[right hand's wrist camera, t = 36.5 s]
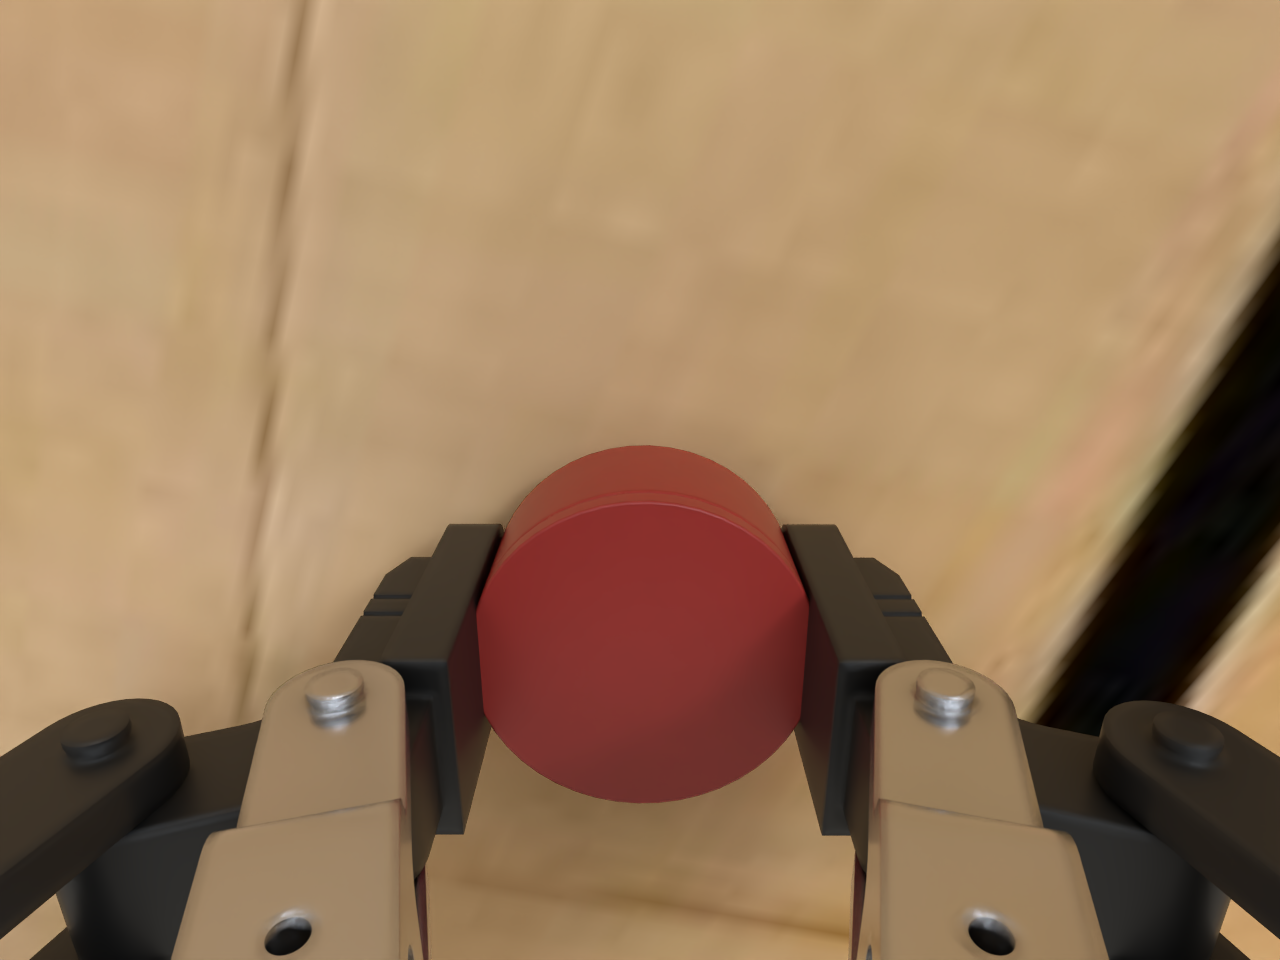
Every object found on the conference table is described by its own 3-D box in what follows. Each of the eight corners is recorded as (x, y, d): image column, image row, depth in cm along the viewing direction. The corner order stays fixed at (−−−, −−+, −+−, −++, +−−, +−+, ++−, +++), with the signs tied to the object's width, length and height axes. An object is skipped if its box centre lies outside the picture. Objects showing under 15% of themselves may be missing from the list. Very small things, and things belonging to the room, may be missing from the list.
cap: (850, 590, 12) (890, 672, 10) (634, 753, 13) (634, 857, 11) (652, 379, 11) (655, 426, 9) (434, 575, 12) (394, 655, 10)
